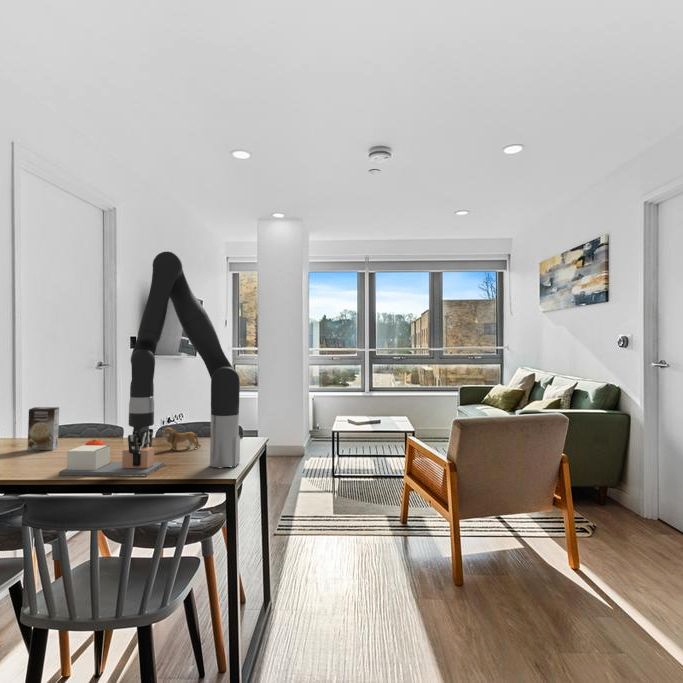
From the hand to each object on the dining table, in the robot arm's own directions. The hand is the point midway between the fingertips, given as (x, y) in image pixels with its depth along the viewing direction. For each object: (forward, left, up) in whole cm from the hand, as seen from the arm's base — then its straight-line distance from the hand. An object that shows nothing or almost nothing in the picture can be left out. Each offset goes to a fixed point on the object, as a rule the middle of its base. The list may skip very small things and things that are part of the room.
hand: (140, 463), depth 153 cm
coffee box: (+51, -31, -2) cm, 60 cm away
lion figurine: (-2, -33, -2) cm, 34 cm away
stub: (+1, 0, -1) cm, 1 cm away
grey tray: (+8, 0, -2) cm, 9 cm away
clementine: (+23, -16, -2) cm, 28 cm away
